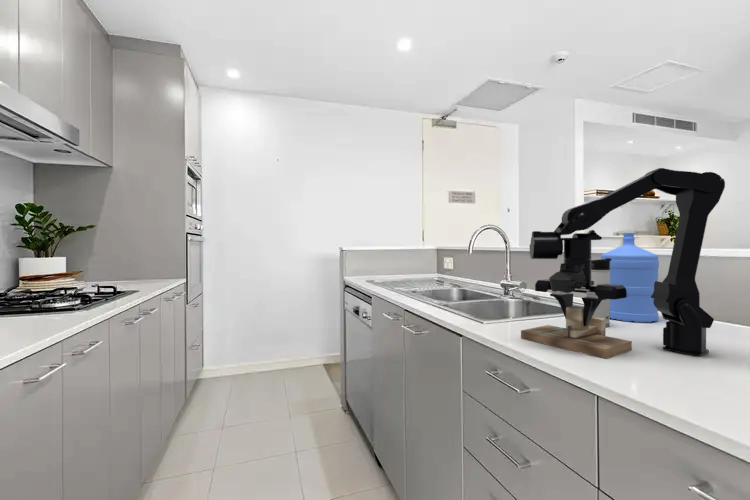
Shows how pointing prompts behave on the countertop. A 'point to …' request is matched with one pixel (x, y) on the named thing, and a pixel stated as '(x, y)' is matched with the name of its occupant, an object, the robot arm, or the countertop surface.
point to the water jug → (633, 281)
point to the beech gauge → (582, 324)
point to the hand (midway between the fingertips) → (577, 324)
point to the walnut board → (578, 341)
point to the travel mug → (600, 276)
